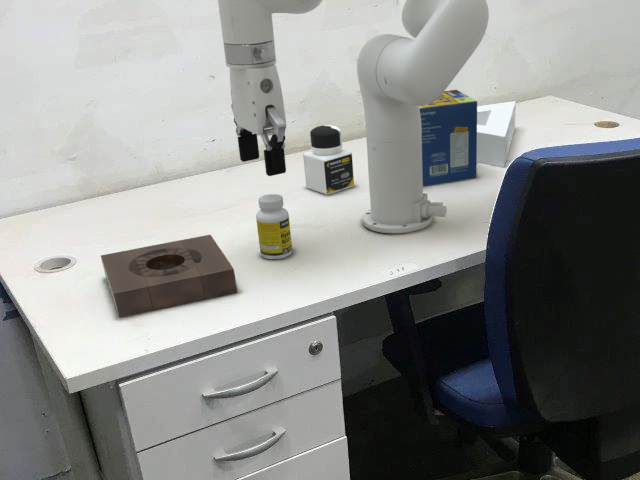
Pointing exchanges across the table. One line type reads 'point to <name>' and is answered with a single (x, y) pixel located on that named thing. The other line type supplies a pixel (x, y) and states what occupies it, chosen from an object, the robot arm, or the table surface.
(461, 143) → the protein box
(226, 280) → the holder block
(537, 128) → the table surface
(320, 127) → the medicine bottle
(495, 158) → the triangle block
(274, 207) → the supplement bottle
